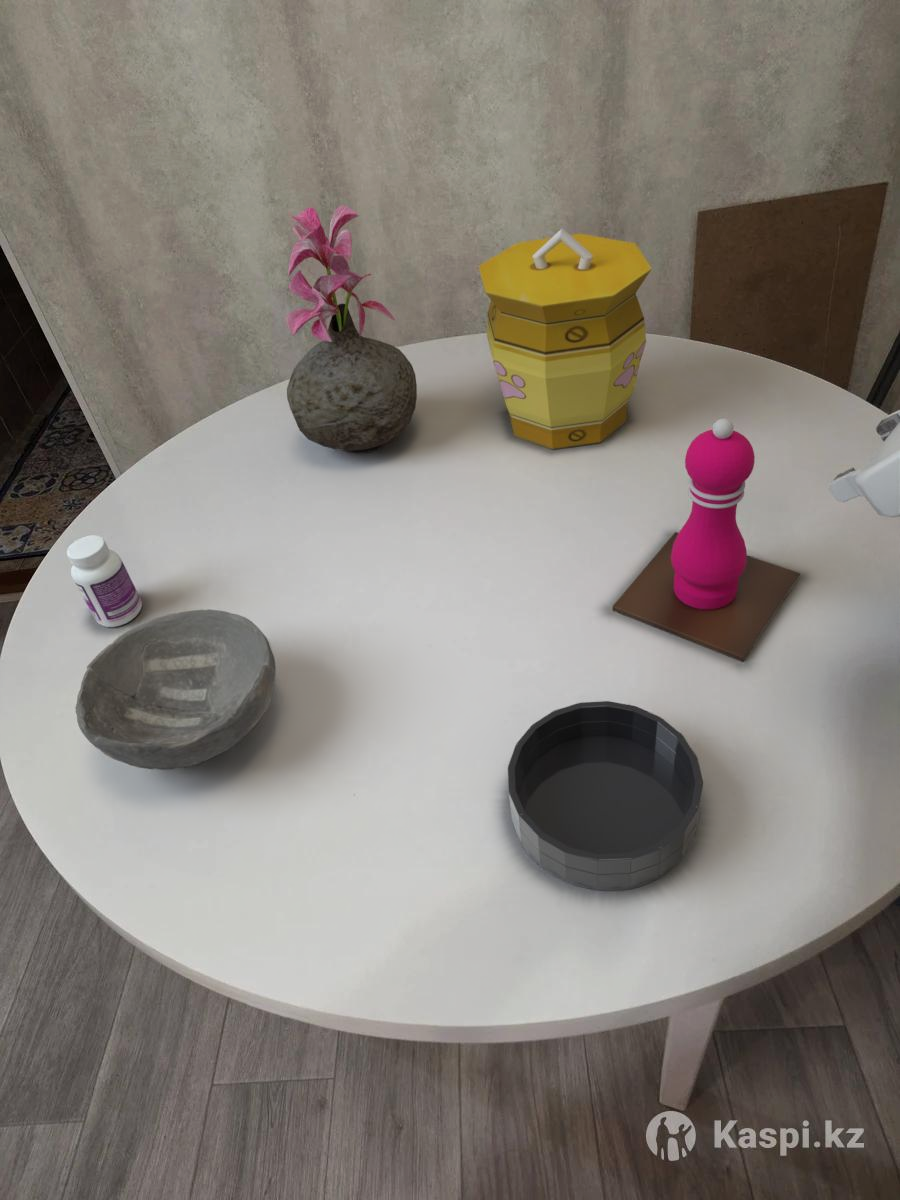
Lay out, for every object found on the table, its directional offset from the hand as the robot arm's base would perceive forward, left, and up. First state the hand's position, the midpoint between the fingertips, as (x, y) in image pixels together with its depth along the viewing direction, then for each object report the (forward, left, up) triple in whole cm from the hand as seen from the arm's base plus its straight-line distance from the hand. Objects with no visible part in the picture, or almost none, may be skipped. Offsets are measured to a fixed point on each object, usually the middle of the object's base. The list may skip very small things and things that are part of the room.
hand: (860, 460), depth 68 cm
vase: (+65, -7, -21) cm, 68 cm away
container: (+43, -24, -21) cm, 54 cm away
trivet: (+12, -1, -21) cm, 24 cm away
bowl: (+45, +40, -21) cm, 63 cm away
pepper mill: (+12, -1, -20) cm, 24 cm away
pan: (+8, +27, -21) cm, 35 cm away
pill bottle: (+66, +34, -21) cm, 77 cm away
